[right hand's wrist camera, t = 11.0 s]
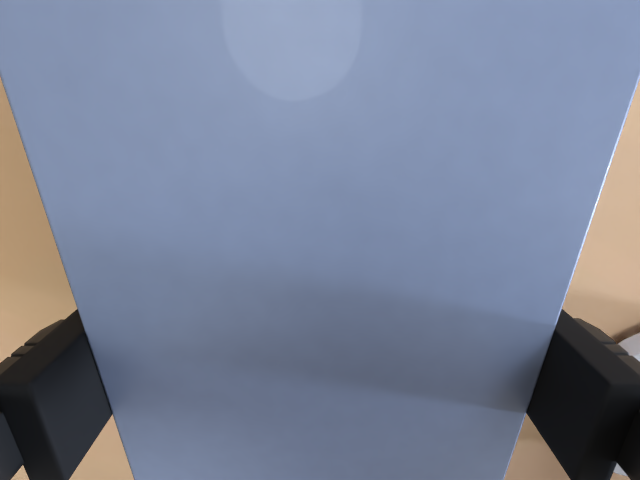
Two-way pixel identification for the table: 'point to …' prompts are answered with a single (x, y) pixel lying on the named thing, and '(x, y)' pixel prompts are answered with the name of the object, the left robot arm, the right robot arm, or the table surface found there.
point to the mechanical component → (636, 347)
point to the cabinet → (319, 217)
